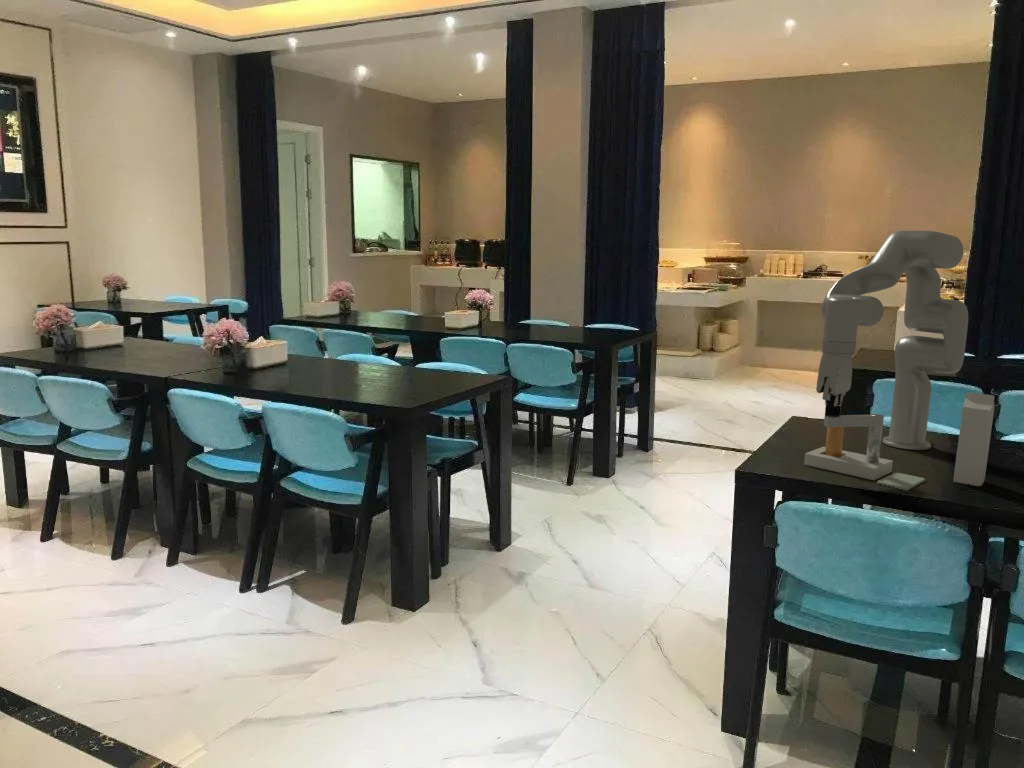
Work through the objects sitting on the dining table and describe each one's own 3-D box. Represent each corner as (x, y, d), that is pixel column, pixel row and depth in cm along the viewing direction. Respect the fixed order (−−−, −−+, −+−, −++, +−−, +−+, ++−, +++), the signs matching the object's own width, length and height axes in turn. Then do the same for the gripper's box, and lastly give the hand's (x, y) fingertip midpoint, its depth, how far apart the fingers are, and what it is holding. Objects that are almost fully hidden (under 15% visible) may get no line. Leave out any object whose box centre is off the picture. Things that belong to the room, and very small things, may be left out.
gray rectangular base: (822, 457, 217) (823, 446, 217) (891, 472, 205) (892, 460, 204) (804, 464, 210) (805, 453, 209) (874, 480, 197) (875, 468, 197)
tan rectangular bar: (827, 461, 213) (832, 417, 211) (842, 465, 210) (847, 420, 208) (821, 464, 210) (825, 419, 208) (836, 468, 207) (841, 422, 205)
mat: (895, 474, 203) (895, 472, 203) (924, 480, 198) (925, 478, 198) (876, 483, 195) (876, 481, 194) (906, 490, 190) (907, 488, 190)
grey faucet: (819, 461, 201) (823, 415, 199) (873, 458, 204) (878, 413, 202) (826, 464, 198) (830, 418, 196) (881, 462, 202) (886, 416, 199)
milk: (980, 487, 194) (993, 397, 190) (952, 481, 198) (964, 393, 194) (984, 481, 199) (996, 393, 195) (956, 476, 203) (968, 390, 198)
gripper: (836, 343, 206) (830, 413, 209) (810, 349, 195) (803, 422, 199) (866, 346, 200) (859, 418, 204) (840, 352, 190) (833, 428, 193)
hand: (831, 420), depth 201 cm, fingers closed
